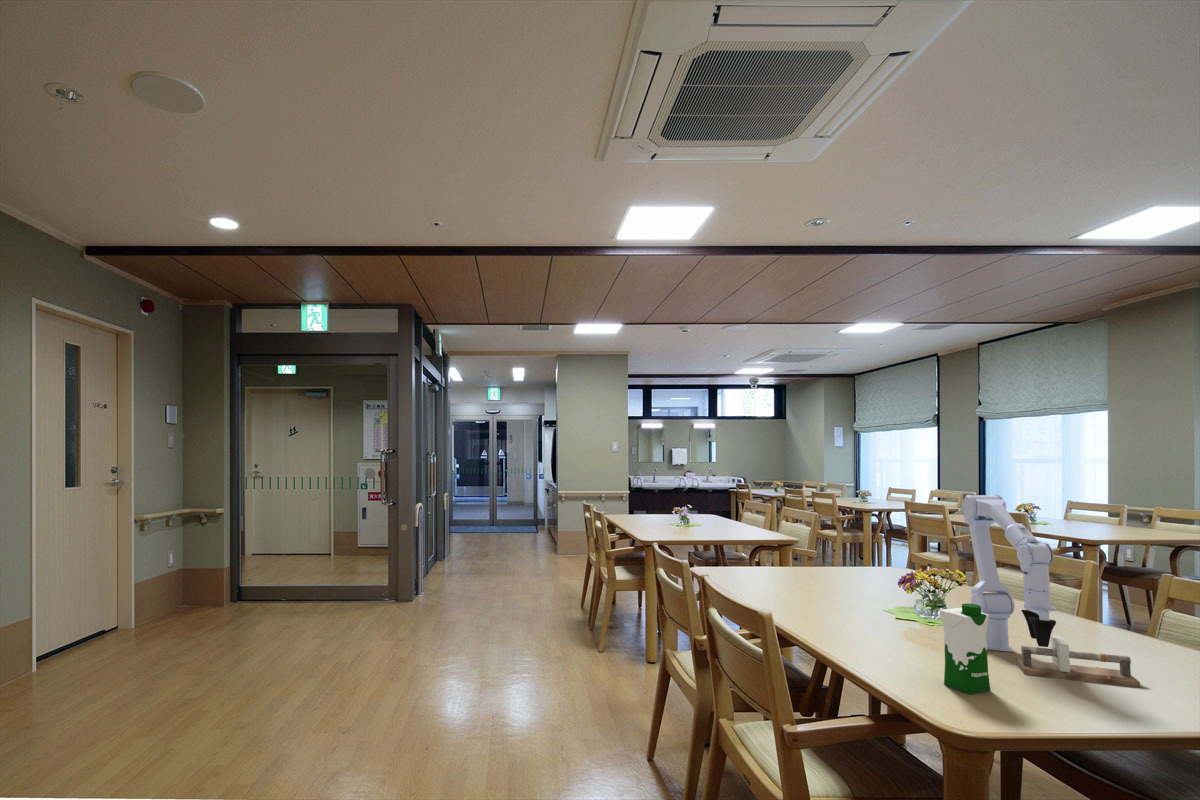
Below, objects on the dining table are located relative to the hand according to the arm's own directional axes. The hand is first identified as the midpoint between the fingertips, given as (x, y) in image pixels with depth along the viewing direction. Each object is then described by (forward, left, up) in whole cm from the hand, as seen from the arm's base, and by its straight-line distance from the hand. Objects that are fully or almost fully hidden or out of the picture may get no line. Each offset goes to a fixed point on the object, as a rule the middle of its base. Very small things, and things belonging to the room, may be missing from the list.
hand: (1039, 642), depth 170 cm
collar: (+4, 0, -6) cm, 7 cm away
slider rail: (+7, 0, -7) cm, 10 cm away
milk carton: (-20, -21, -8) cm, 30 cm away
